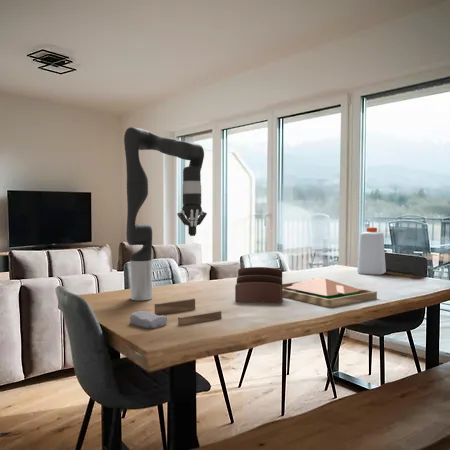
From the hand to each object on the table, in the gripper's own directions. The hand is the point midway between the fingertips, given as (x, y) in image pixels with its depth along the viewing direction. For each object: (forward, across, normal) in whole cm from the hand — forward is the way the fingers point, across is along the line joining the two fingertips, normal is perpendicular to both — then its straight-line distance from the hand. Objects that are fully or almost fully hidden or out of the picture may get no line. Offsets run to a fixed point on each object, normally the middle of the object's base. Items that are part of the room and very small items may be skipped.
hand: (192, 235), depth 179 cm
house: (+30, -62, +12) cm, 69 cm away
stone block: (+30, +25, +14) cm, 41 cm away
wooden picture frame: (+29, -59, +13) cm, 67 cm away
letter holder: (+29, -30, +5) cm, 43 cm away
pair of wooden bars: (+29, +10, +12) cm, 33 cm away
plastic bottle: (+29, -137, -17) cm, 141 cm away
